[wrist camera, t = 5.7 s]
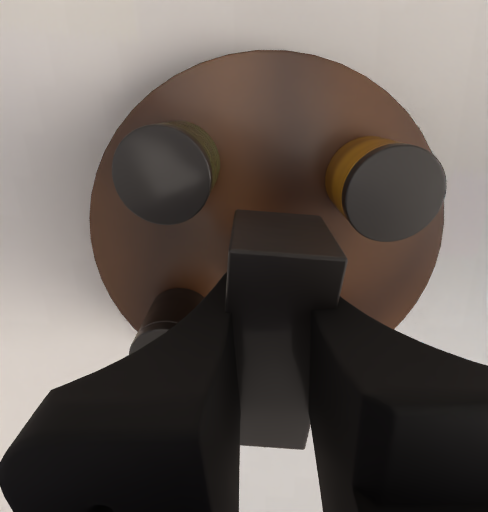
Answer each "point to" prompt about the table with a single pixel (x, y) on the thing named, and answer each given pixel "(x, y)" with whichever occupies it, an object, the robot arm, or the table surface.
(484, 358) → the table surface
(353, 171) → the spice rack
